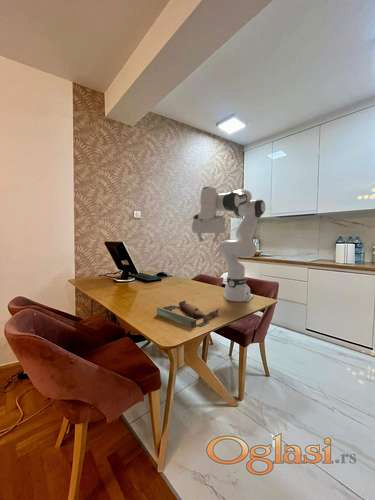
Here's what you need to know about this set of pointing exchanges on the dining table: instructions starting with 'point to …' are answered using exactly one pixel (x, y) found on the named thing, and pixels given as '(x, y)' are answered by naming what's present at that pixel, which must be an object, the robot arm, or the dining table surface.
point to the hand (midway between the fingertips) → (207, 241)
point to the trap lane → (182, 319)
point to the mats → (196, 325)
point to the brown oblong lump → (192, 311)
